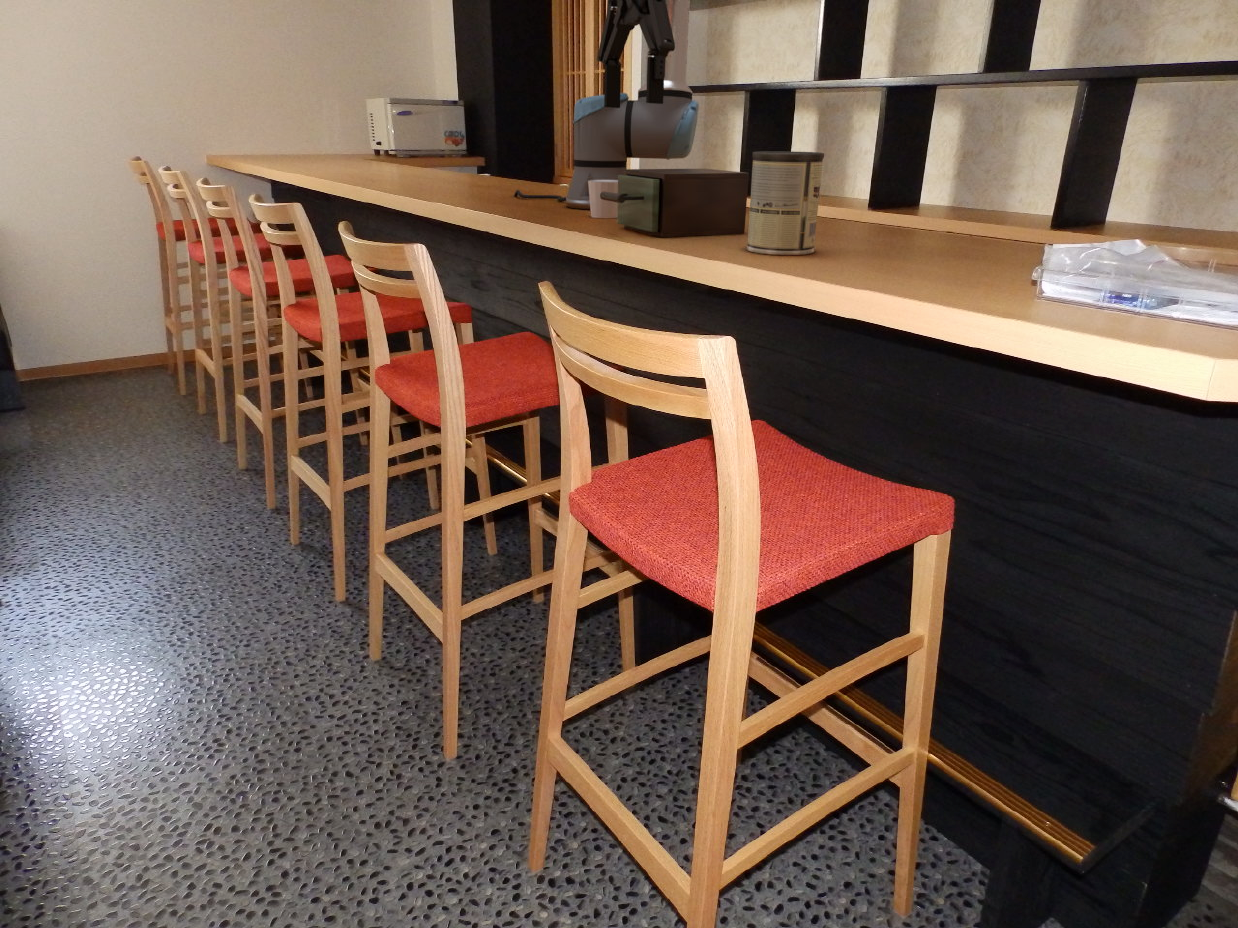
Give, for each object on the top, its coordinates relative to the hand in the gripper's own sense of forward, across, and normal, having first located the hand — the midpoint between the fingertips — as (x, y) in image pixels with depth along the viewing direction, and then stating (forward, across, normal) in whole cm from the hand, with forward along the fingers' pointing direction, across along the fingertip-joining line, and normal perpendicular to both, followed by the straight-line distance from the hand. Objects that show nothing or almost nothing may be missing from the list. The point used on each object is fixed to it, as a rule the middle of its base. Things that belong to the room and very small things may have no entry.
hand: (632, 106), depth 137 cm
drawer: (+19, -1, +7) cm, 20 cm away
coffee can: (+21, +26, +11) cm, 36 cm away
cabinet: (+20, 0, +12) cm, 23 cm away
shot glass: (+19, -27, +10) cm, 34 cm away
